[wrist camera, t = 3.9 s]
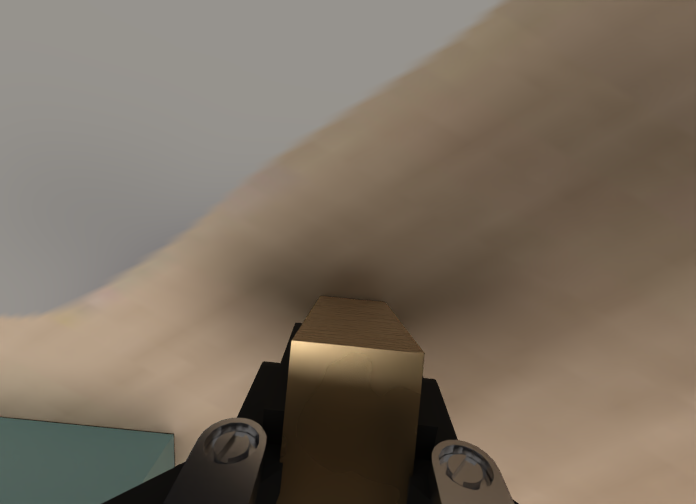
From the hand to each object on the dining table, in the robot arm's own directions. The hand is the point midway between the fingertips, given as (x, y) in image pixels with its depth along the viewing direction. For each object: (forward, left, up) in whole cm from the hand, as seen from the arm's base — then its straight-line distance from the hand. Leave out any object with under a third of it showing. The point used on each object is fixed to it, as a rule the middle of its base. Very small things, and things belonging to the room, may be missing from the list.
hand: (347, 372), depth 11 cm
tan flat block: (0, +1, -2) cm, 3 cm away
